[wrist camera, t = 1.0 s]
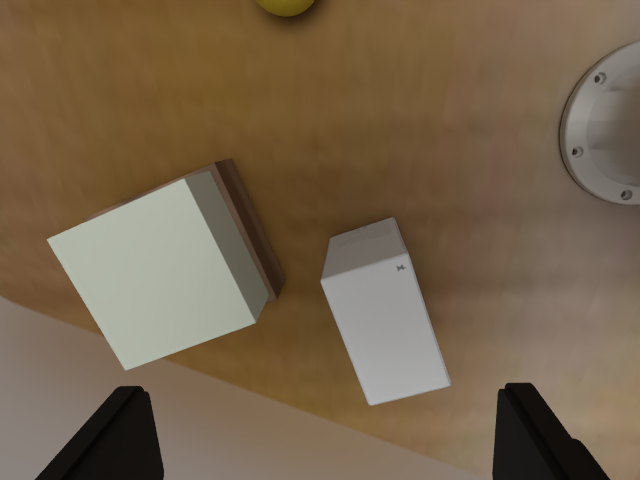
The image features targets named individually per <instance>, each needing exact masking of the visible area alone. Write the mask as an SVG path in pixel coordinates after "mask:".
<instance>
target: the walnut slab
mask: <svg viewBox="0 0 640 480" xmlns="http://www.w3.org/2000/svg"><path fill="white" fill-rule="evenodd" d="M207 171H210V172H211V175H212V177H213V179H214V181H215V183H216V185H217V187H218V189H219V191H220V193H221V195H222V197H223V199H224V202H225V204H226V206H227V208H228V210H229V212H230V214H231V216H232V218H233V220H234V222H235V224H236V226H237V229H238V231H239V233H240V235H241V237H242V239H243V241H244V243H245V245H246V247H247V249H248V251H249V253H250V256H251V258H252V260H253V262H254V264H255V266H256V268H257V270H258V272H259V274H260V276H261V278H262V280H263V283H264V285H265V287H266V289H267V291H268V293H269V297H268V299H267V301H266V303H268V302H271V301H274V300H277V298H278V296H279V294H280V291H281V289H282V286H283V284H284V281H285V277H284V275H283V273H282V270H281V268H280V266H279V264H278V262H277V259H276V257H275V255H274V253H273V250H272V248H271V246H270V244H269V241H268V239H267V237H266V235H265V233H264V230H263V228H262V226H261V224H260V221H259V219H258V217H257V215H256V212H255V210H254V208H253V206H252V203H251V201H250V199H249V197H248V195H247V192H246V190H245V188H244V186H243V183H242V181H241V179H240V177H239V174H238V172H237V170H236V168H235V166H234V163H233V161H232V159H227V160H223V161H219V162H215V163H213V164H210V165H208V166H206V167H203V168H201V169H199V170H196V171H194V172H191V173H189V174H187V175H184V176H182V177H180V178H177V179H175V180H173V181H170V182H168V183H166V184H163V185H161V186H159V187H156V188H154V189H152V190H149V191H147V192H144V193H142V194H140V195H137V196H135V197H133V198H130V199H128V200H126V201H123V202H121V203H119V204H116V205H114V206H112V207H109V208H107V209H105V210H102V211H100V212H98V213H95V214H93V215H90V216H88V217H86V218H83V219H84V221H85V222H87V221H89V220H92V219H94V218H96V217H98V216H101V215H103V214H105V213H107V212H110V211H112V210H114V209H116V208H119V207H121V206H123V205H125V204H128V203H130V202H132V201H134V200H137V199H139V198H141V197H143V196H146V195H148V194H150V193H152V192H155V191H157V190H159V189H161V188H164V187H166V186H168V185H170V184H173V183H175V182H177V181H179V180H182V179H184V178H187V177H190V176H194V175H197V174H200V173H204V172H207ZM266 303H265V304H266Z"/></svg>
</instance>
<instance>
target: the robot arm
mask: <svg viewBox="0 0 640 480" xmlns="http://www.w3.org/2000/svg"><path fill="white" fill-rule="evenodd" d="M595 77H596V82H595V81H594V78H595ZM560 147H561V152H562V157H563V160H564V163H565V165H566V167H567V169H568V172H569V173H570V174H571V176H572V177H573V178H574V180H575V181H576V183H578V184H579V185H580V186H581V187H582V188H583V189H585V190H586V191H587V192H589V193H591V194H592V195H594V196H596V197H598V198H600V199H604V200H607V201H610V202H613V203H618V204H622V205H640V41H637V42H634V43H631V44H629V45H626V46H624V47H621V48H619V49H617V50H615V51H614V52H612V53H610V54H609V55H607V56H606V57H604V58H603V59H601V60H600V61H599V62H598V63H597V64H596V65H594V66H593V67H592V68H591V69H590V70H589V71H588V72H587V73H586V74H585V76H584V77H583V78H582V79H581V80H580V82H579V83H578V84H577V86H576V87H575V89H574V91H573V93H572V94H571V96H570V98H569V100H568V102H567V105H566V107H565V110H564V113H563V117H562V122H561V127H560ZM573 149H574V150H575V152H574V154H572V151H573ZM621 194H622V195H621ZM492 475H493V480H610V479H609V477H608V476H607V475H606V473H605V472H604V471H603V469H602V468H601V467H600V465H599V464H598V463H597V461H596V460H595V459H594V458H593V456H592V455H591V454H590V452H589V451H588V450H587V448H586V447H585V446H584V445H583V444H582V443H581V441H579V440H577V439H572V438H571V436H570V435H569V434H568V432H567V431H566V429H565V428H564V427H563V425H562V424H561V423H560V421H559V420H558V418H557V417H556V416H555V414H554V413H553V412H552V410H551V409H550V407H549V406H548V405H547V403H546V402H545V401H544V399H543V398H542V396H541V395H540V394H539V392H538V391H537V390H536V388H535V387H534V386H533V385H532V384H531V383H507V384H506V385H505V389H499V391H498V400H497V415H496V429H495V443H494V458H493V472H492ZM163 478H164V468H163V463H162V458H161V453H160V447H159V442H158V437H157V432H156V427H155V421H154V416H153V411H152V405H151V400H150V396H149V393H148V392H146V391H145V392H144V389H143V388H142V387H141V386H120V387H118V388H116V389H115V390H114V392H113V393H112V394H111V395H110V396H109V397H108V398H107V399H106V400H105V402H104V403H103V404H102V405H101V406H100V407H99V408H98V410H97V411H96V412H95V413H94V414H93V415H92V416H91V417H90V418H89V420H88V421H87V422H86V423H85V424H84V425H83V426H82V427H81V428H80V430H79V431H78V432H77V433H76V434H75V435H74V436H73V437H72V439H71V440H70V441H69V442H68V443H67V444H66V445H65V446H64V448H63V449H62V450H61V451H60V452H59V453H58V454H57V455H56V456H55V458H54V459H53V460H52V461H51V462H50V463H49V465H48V466H47V467H46V468H45V469H44V470H43V471H42V472H41V473H40V474H39V476H38V477H37V478H36V479H35V480H163Z"/></svg>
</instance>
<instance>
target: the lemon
mask: <svg viewBox="0 0 640 480" xmlns="http://www.w3.org/2000/svg"><path fill="white" fill-rule="evenodd" d="M255 1H256V2H257V3H258V5H259V6H261V7H262V8H263V9H265V10H266V11H268V12H269V13H272V14H275V15H277V16H285V17H289V16H294V15H298V14H299V13H301V12H303V11H305V10H306V9H307V8H308V7H310V6H311V5H312V4H313V2H314V1H315V0H255Z"/></svg>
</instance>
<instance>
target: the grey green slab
mask: <svg viewBox="0 0 640 480" xmlns="http://www.w3.org/2000/svg"><path fill="white" fill-rule="evenodd" d="M47 241H48V243H49V244H50V246H51V248H52V249H53V251H54V253H55V254H56V256H57V258H58V259H59V261H60V263H61V264H62V266H63V268H64V269H65V271H66V273H67V274H68V276H69V278H70V279H71V281H72V283H73V284H74V286H75V288H76V289H77V291H78V293H79V294H80V296H81V298H82V299H83V301H84V303H85V304H86V306H87V308H88V309H89V311H90V313H91V314H92V316H93V318H94V319H95V321H96V323H97V324H98V326H99V328H100V329H101V331H102V333H103V334H104V336H105V337H106V339H107V341H108V342H109V344H110V346H111V347H112V349H113V351H114V352H115V354H116V356H117V357H118V359H119V361H120V362H121V364H122V366H123V367H124V369H125V370H128V369H131V368H133V367H136V366H139V365H142V364H144V363H147V362H150V361H153V360H155V359H158V358H161V357H164V356H167V355H169V354H172V353H175V352H178V351H180V350H183V349H186V348H189V347H191V346H194V345H197V344H200V343H202V342H205V341H208V340H211V339H213V338H216V337H219V336H222V335H224V334H227V333H230V332H233V331H235V330H238V329H241V328H244V327H246V326H249V325H252V324H255V323H256V322H257V320H258V318H259V316H260V314H261V312H262V309H263V307H264V305H265V303H266V301H267V299H268V297H269V293H268V291H267V289H266V287H265V285H264V283H263V280H262V278H261V276H260V274H259V272H258V270H257V268H256V266H255V264H254V262H253V260H252V258H251V256H250V253H249V251H248V249H247V247H246V245H245V243H244V241H243V239H242V237H241V235H240V233H239V231H238V229H237V226H236V224H235V222H234V220H233V218H232V216H231V214H230V212H229V210H228V208H227V206H226V204H225V202H224V199H223V197H222V195H221V193H220V191H219V189H218V187H217V185H216V183H215V181H214V179H213V177H212V175H211V172H210V171H207V172H204V173H200V174H197V175H194V176H190V177H187V178H184V179H182V180H179V181H177V182H175V183H173V184H170V185H168V186H166V187H164V188H161V189H159V190H157V191H155V192H152V193H150V194H148V195H146V196H143V197H141V198H139V199H137V200H134V201H132V202H130V203H128V204H125V205H123V206H121V207H119V208H116V209H114V210H112V211H110V212H107V213H105V214H103V215H101V216H98V217H96V218H94V219H92V220H89V221H87V222H85V223H83V224H80V225H78V226H76V227H74V228H71V229H69V230H67V231H65V232H62V233H60V234H58V235H56V236H53V237H51V238H49V239H47Z"/></svg>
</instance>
